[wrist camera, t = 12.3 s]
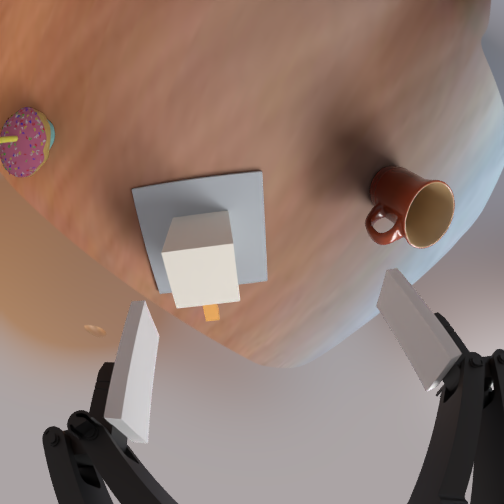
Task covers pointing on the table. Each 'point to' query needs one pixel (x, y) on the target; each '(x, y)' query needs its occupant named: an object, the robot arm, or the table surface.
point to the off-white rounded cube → (201, 262)
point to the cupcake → (26, 142)
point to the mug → (409, 207)
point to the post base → (206, 201)
